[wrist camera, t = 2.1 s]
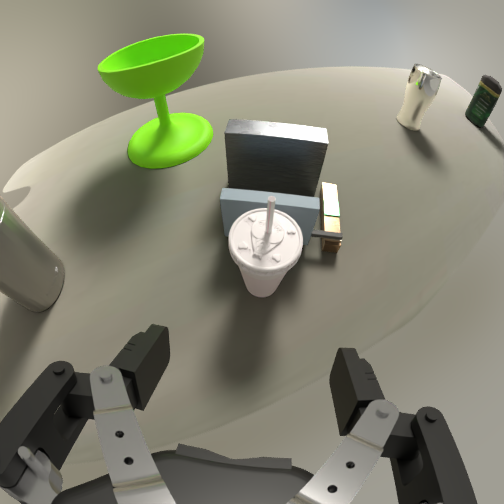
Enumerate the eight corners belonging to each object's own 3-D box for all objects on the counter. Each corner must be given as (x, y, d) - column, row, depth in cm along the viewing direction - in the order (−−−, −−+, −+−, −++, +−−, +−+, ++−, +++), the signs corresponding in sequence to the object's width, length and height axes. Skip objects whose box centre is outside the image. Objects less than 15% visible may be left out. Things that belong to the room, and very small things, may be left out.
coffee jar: (481, 131, 55) (503, 88, 39) (462, 115, 58) (482, 72, 42) (484, 124, 58) (504, 85, 42) (467, 110, 61) (485, 70, 45)
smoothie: (296, 268, 32) (322, 187, 20) (278, 317, 29) (299, 256, 17) (246, 250, 33) (244, 164, 21) (224, 296, 31) (208, 225, 18)
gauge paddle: (224, 236, 33) (219, 198, 27) (226, 226, 34) (222, 187, 28) (338, 248, 33) (356, 214, 26) (337, 238, 33) (354, 203, 27)
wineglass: (190, 106, 50) (180, 29, 34) (230, 142, 44) (224, 44, 28) (119, 138, 46) (92, 60, 30) (142, 183, 39) (105, 83, 23)
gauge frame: (217, 239, 34) (207, 184, 25) (232, 174, 40) (229, 119, 31) (336, 252, 33) (363, 202, 25) (332, 185, 39) (349, 133, 30)
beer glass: (395, 111, 53) (413, 60, 39) (421, 123, 51) (441, 74, 38) (393, 122, 50) (413, 67, 36) (420, 136, 48) (443, 83, 35)
